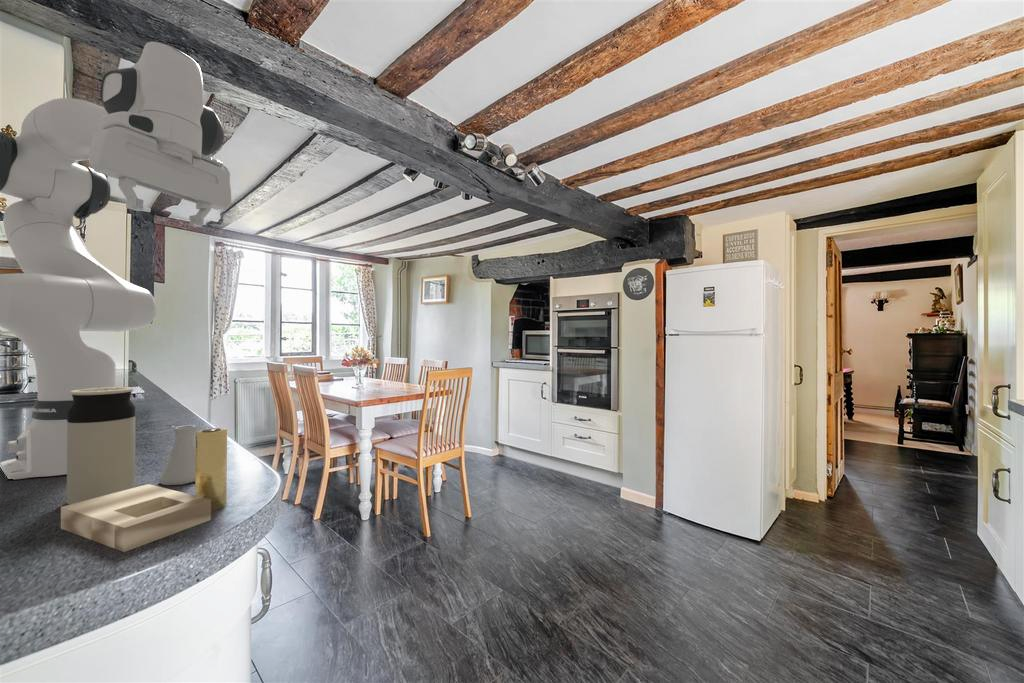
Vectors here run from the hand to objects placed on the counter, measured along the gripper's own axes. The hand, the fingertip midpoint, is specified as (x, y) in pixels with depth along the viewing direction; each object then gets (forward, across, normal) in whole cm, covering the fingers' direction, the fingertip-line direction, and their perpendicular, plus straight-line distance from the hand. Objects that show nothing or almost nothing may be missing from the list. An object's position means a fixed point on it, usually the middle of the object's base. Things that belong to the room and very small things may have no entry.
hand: (167, 218), depth 72 cm
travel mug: (+48, +6, -4) cm, 49 cm away
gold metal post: (+48, +1, +17) cm, 50 cm away
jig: (+48, +9, +14) cm, 51 cm away
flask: (+48, -5, -1) cm, 48 cm away
